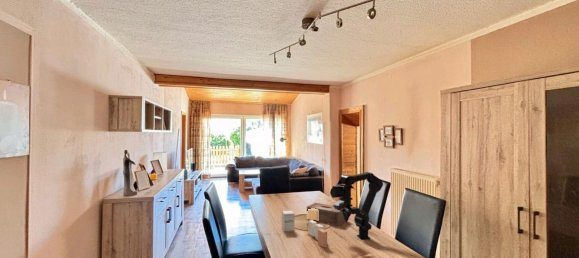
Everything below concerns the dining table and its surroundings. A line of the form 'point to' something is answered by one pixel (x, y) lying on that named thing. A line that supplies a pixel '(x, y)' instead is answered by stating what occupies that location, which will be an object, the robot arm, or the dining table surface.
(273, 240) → the dining table surface
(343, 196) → the robot arm
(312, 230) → the far key
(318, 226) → the middle key
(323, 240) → the terracotta key
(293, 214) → the supplement box
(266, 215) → the dining table surface
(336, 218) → the tissue box cover
